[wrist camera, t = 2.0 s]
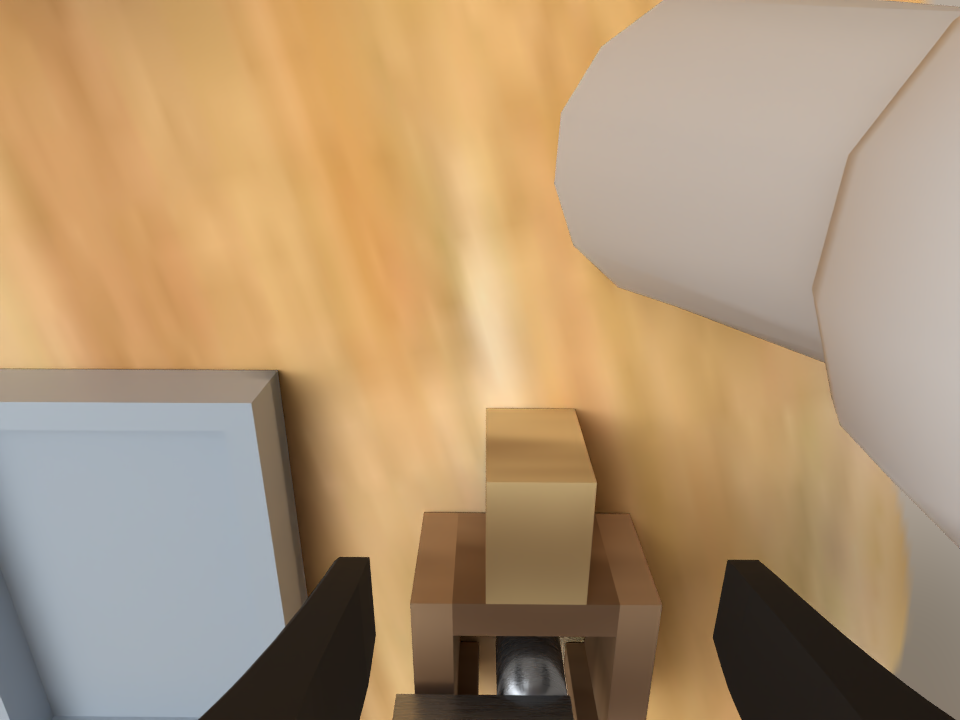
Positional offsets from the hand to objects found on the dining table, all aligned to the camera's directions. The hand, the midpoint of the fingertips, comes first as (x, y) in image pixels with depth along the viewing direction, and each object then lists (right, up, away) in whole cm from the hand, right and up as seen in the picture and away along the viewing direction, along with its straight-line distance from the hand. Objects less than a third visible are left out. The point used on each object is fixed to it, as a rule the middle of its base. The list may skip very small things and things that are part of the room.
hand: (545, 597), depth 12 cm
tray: (-11, -2, +6) cm, 13 cm away
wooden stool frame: (0, -1, +6) cm, 6 cm away
